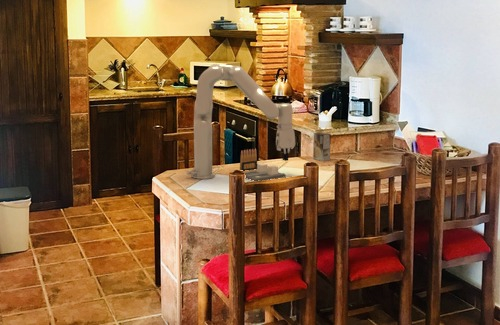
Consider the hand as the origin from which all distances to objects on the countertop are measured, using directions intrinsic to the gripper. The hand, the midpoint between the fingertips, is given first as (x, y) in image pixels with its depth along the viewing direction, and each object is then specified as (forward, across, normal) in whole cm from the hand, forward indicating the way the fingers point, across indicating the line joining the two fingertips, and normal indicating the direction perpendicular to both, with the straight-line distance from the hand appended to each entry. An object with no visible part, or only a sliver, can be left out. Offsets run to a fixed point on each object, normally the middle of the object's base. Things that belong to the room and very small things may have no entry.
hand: (285, 160), depth 355 cm
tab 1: (+7, -10, +7) cm, 14 cm away
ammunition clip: (+8, -10, +21) cm, 25 cm away
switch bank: (+8, -12, +4) cm, 15 cm away
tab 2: (+7, -8, 0) cm, 11 cm away
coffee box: (+9, +42, +21) cm, 48 cm away
